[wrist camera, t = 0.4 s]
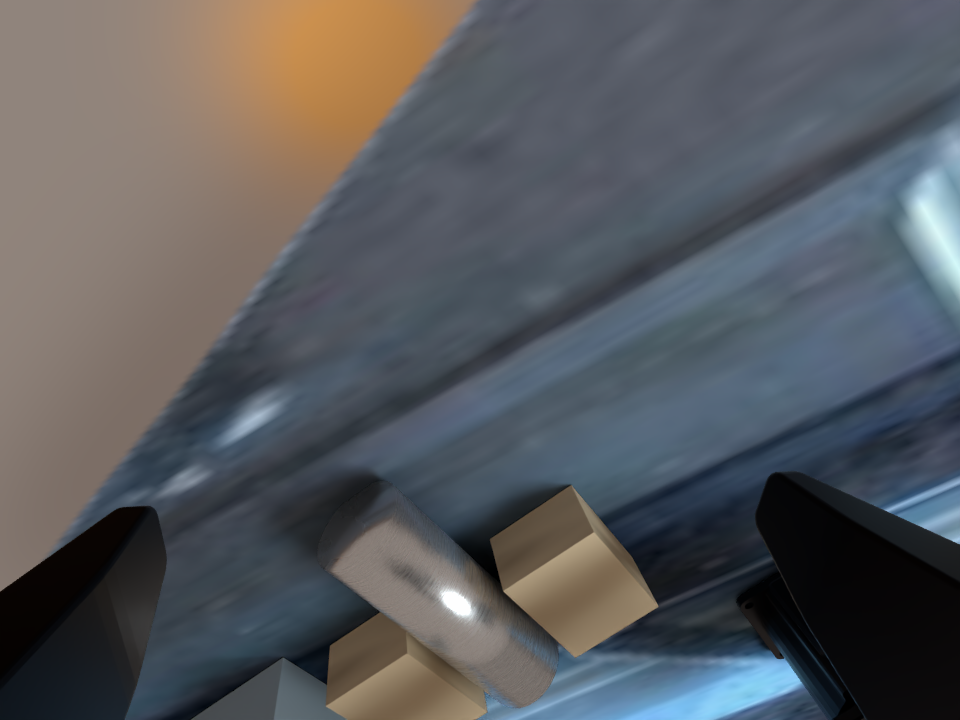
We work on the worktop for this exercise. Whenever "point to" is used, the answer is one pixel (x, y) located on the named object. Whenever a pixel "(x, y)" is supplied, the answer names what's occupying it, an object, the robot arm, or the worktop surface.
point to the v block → (275, 697)
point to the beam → (527, 581)
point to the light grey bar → (437, 594)
